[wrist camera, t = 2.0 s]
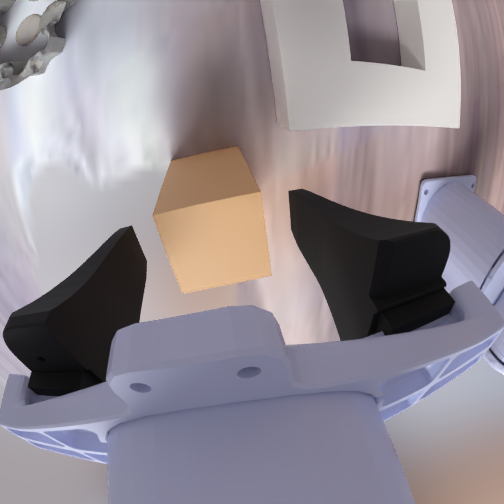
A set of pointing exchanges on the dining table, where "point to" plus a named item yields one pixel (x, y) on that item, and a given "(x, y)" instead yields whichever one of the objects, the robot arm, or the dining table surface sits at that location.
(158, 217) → the peg
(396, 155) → the dining table surface
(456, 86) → the socket plate
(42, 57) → the egg carton
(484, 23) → the dining table surface
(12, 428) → the robot arm
